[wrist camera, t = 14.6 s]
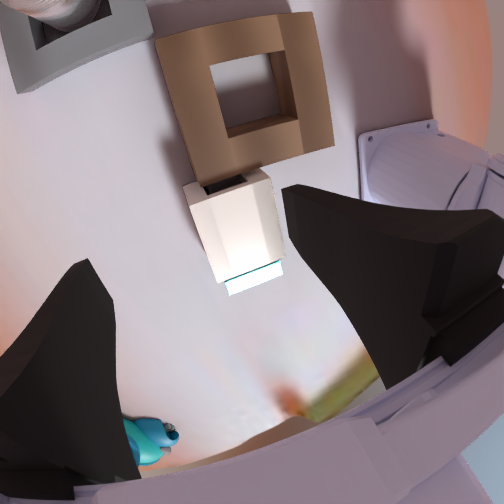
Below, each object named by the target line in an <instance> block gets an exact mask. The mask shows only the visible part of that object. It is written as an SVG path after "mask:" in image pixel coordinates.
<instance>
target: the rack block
mask: <svg viewBox="0 0 504 504" xmlns="http://www.w3.org/2000/svg"><path fill="white" fill-rule="evenodd" d="M108 1H109V4H110V8H111V12H112V15H110V16H108V17H105V18H103V19H100V20H98V21H95V22H93V23H91V24H88V25H86V26H84V27H82V28H79V29H77V30H75V31H73V32H71V33H69V34H67V35H65V36H63V37H61V38H59V39H57V40H55V41H53V42H51V43H49V44H47V42H46V39H45V35H44V31H43V26H42V22H41V21H40V20H37V19H35V18H33V17H31V16H29V15H26V14H24V13H22V12H20V11H17V10H15V9H13V8H10V7H8V6H6V5H4V4H3V3H2V2H1V1H0V30H1V35H2V40H3V44H4V49H5V53H6V57H7V61H8V64H9V68H10V72H11V75H12V79H13V82H14V85H15V89H16V92H17V94H21V93H26V92H31V91H34V90H35V89H37V88H39V87H41V86H42V85H44V84H46V83H48V82H50V81H51V80H53V79H55V78H57V77H59V76H61V75H63V74H65V73H67V72H69V71H71V70H73V69H75V68H77V67H79V66H81V65H83V64H86V63H88V62H90V61H92V60H95V59H97V58H99V57H102V56H104V55H106V54H109V53H111V52H114V51H116V50H119V49H122V48H124V47H127V46H130V45H132V44H135V43H138V42H141V41H144V40H147V39H150V38H153V32H154V31H153V28H152V24H151V20H150V17H149V13H148V9H147V5H146V2H145V0H108Z"/></svg>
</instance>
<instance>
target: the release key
mask: <svg viewBox="0 0 504 504" xmlns="http://www.w3.org/2000/svg"><path fill="white" fill-rule="evenodd" d="M239 184H242V182H241V180H240V179H239V178H238V177H237V176H236V175H235V176H232V177H229V178H226V179H224V180H221V181H218V182H215V183H212V184H209V185H206V186H207V189H208V193H209V195H210V194H213V193H216V192H219V191H222V190H225V189H227V188H230V187H233V186H236V185H239ZM279 275H282V269H281V264H280V261H279V260H277V261H274V262H272V263H269V264H267V265H264V266H261V267H259V268H256V269H254V270H251V271H249V272H246V273H243V274H241V275H238V276H236V277H233V278H230V279H228V280H225V281H224V282H225V284H226V287H227V289H228V291H229V294H230V295H231V294H233V293H236V292H238V291H241V290H244V289H246V288H249V287H251V286H254V285H256V284H259V283H261V282H264V281H267V280H269V279H272V278H274V277H277V276H279Z"/></svg>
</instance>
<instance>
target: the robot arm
mask: <svg viewBox="0 0 504 504" xmlns="http://www.w3.org/2000/svg"><path fill="white" fill-rule="evenodd" d="M369 137H370V140H369V141H368V138H369ZM358 145H359V158H360V174H361V197H362V200H359V199H355V198H351V197H347V196H343V195H339V194H336V193H332V192H329V191H325V190H321V189H318V188H314V187H310V186H305V185H299V184H296V185H293V186H290V187H286V188H283V189H281V191H282V197H283V203H284V209H285V215H286V221H287V227H288V234H289V238H290V239H291V241H292V243H293V245H294V246H295V248H296V249H297V251H298V253H299V254H300V256H301V257H302V259H303V260H304V261H305V262H306V263H307V265H308V266H309V267H310V268H311V270H312V271H313V272H314V273H315V274H316V276H317V277H318V278H319V279H320V280H321V282H322V283H323V284H324V285H325V286H326V288H327V289H328V290H329V291H330V293H331V294H332V295H333V296H334V298H335V299H336V300H337V302H338V303H339V304H340V306H341V307H342V309H343V310H344V312H345V314H346V315H347V317H348V318H349V320H350V322H351V323H352V325H353V327H354V328H355V330H356V332H357V333H358V335H359V337H360V339H361V340H362V342H363V344H364V346H365V348H366V349H367V351H368V353H369V355H370V357H371V359H372V361H373V363H374V365H375V367H376V369H377V371H378V373H379V375H380V377H381V379H382V381H383V383H384V386H385V388H386V391H385V392H383V393H381V394H379V395H378V396H376V397H374V398H372V399H370V400H368V401H367V402H365V403H363V404H361V405H359V406H357V407H355V408H353V409H351V410H350V411H347V412H345V413H343V414H341V415H339V416H337V417H335V418H333V419H331V420H329V421H327V422H325V423H322V424H320V425H318V426H316V427H314V428H311V429H309V430H307V431H304V432H301V433H299V434H296V435H294V436H292V437H289V438H287V439H284V440H281V441H279V442H277V443H274V444H271V445H268V446H266V447H263V448H260V449H257V450H254V451H251V452H248V453H245V454H242V455H239V456H236V457H233V458H229V459H226V460H223V461H219V462H216V463H212V464H208V465H204V466H201V467H197V468H193V469H188V470H184V471H180V472H176V473H171V474H166V475H160V476H155V477H150V478H144V479H142V478H141V475H140V473H139V470H138V467H137V465H136V462H135V459H134V457H133V453H132V450H131V447H130V444H129V440H128V437H127V434H126V430H125V426H124V421H123V417H122V413H121V408H120V402H119V397H118V391H117V382H116V321H115V312H114V304H113V299H112V298H111V296H110V295H109V293H108V291H107V290H106V288H105V286H104V285H103V283H102V282H101V280H100V278H99V277H98V275H97V273H96V271H95V270H94V268H93V266H92V265H91V263H90V261H89V259H88V258H87V259H85V260H82V261H80V262H78V263H75V264H73V265H72V266H71V267H70V268H69V270H68V271H67V272H66V273H65V274H64V276H63V277H62V278H61V280H60V281H59V282H58V284H57V285H56V286H55V288H54V289H53V291H52V292H51V293H50V295H49V296H48V298H47V299H46V301H45V302H44V303H43V305H42V306H41V307H40V309H39V310H38V311H37V313H36V314H35V316H34V317H33V318H32V320H31V321H30V322H29V324H28V325H27V326H26V328H25V329H24V330H23V332H22V333H21V334H20V335H19V336H18V338H17V339H16V340H15V341H14V342H13V344H12V345H11V346H10V347H9V348H8V349H7V350H6V351H5V352H4V354H3V355H2V356H1V357H0V504H493V502H492V501H491V499H490V498H489V496H488V495H487V493H486V491H485V490H484V488H483V487H482V485H481V483H480V482H479V481H478V479H477V477H476V476H475V474H474V473H473V471H472V470H471V468H470V467H469V465H468V464H467V462H466V461H465V459H464V458H463V456H462V455H461V451H463V450H464V449H465V448H466V447H468V446H469V445H470V444H471V443H472V442H473V441H475V440H476V439H477V438H478V437H479V436H480V435H481V434H482V433H483V432H484V431H485V430H487V429H488V428H489V427H490V426H491V425H492V424H493V423H494V422H495V421H496V420H497V419H498V418H499V417H500V416H501V415H502V414H503V413H504V155H502V154H499V153H498V154H496V155H494V156H493V157H492V156H491V155H490V154H489V153H488V152H487V151H486V150H484V149H482V148H480V147H478V146H476V145H473V144H471V143H469V142H467V141H464V140H462V139H459V138H457V137H454V136H452V135H449V134H447V133H444V132H442V131H439V130H438V122H437V120H435V119H429V120H423V121H418V122H413V123H408V124H403V125H398V126H393V127H388V128H384V129H379V130H375V131H370V132H366V133H362V134H361V135H360V136H359V138H358Z"/></svg>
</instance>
